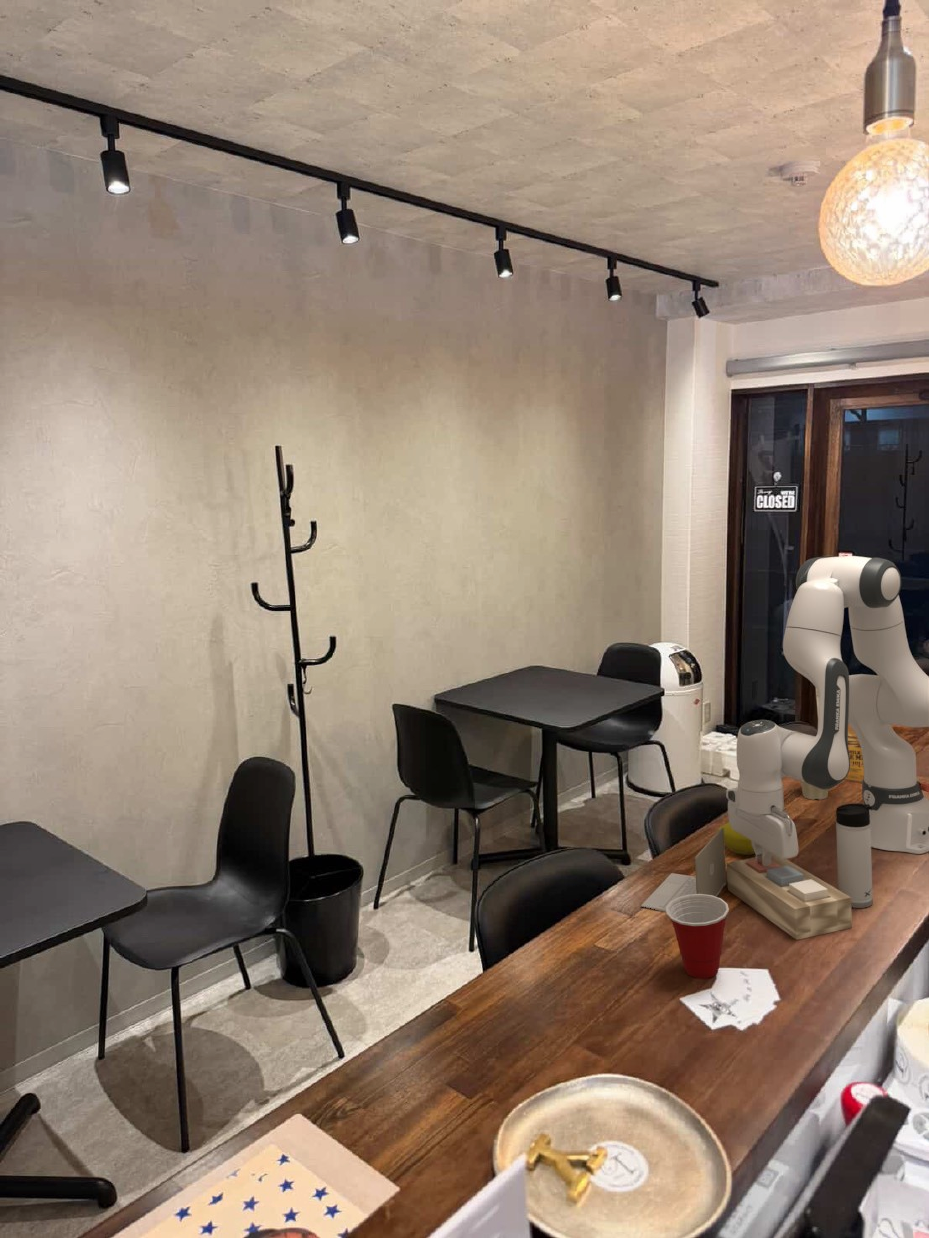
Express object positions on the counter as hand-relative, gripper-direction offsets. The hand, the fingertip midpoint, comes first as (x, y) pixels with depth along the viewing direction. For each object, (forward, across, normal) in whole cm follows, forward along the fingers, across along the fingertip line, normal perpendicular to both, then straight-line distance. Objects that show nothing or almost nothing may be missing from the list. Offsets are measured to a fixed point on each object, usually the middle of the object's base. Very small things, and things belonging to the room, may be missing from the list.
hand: (763, 863), depth 184 cm
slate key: (+2, -8, 0) cm, 8 cm away
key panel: (+6, -8, 0) cm, 10 cm away
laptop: (+7, +6, +15) cm, 18 cm away
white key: (+2, -15, 0) cm, 15 cm away
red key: (+3, 0, 0) cm, 3 cm away
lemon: (+7, +20, -8) cm, 23 cm away
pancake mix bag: (+7, +56, -64) cm, 85 cm away
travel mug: (+7, -11, -14) cm, 19 cm away
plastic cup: (+7, -22, +28) cm, 36 cm away
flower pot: (+7, +46, -46) cm, 65 cm away
